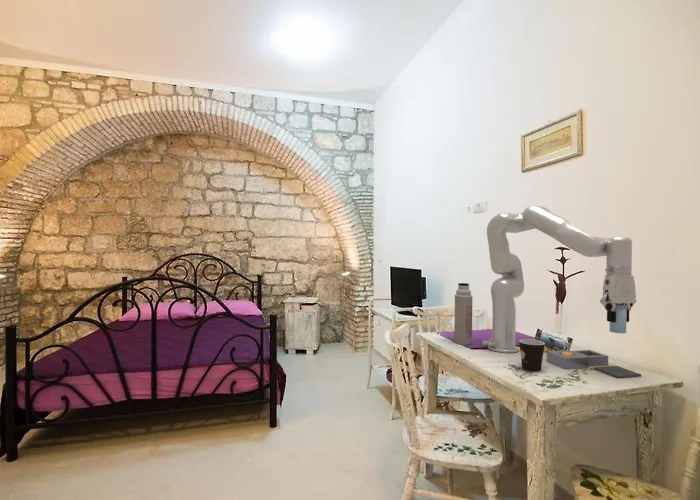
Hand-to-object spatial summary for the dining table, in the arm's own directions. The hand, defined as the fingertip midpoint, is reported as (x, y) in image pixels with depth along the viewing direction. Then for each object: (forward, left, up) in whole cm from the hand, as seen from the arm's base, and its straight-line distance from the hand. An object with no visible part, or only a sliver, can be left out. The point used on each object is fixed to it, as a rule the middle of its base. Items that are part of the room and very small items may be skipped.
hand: (617, 321), depth 140 cm
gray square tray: (0, +13, -19) cm, 23 cm away
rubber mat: (0, 0, -19) cm, 19 cm away
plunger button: (-11, +12, -18) cm, 24 cm away
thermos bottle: (-34, +50, -19) cm, 63 cm away
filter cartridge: (0, 0, -4) cm, 4 cm away
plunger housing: (-11, +12, -19) cm, 25 cm away
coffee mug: (-27, +11, -19) cm, 35 cm away
